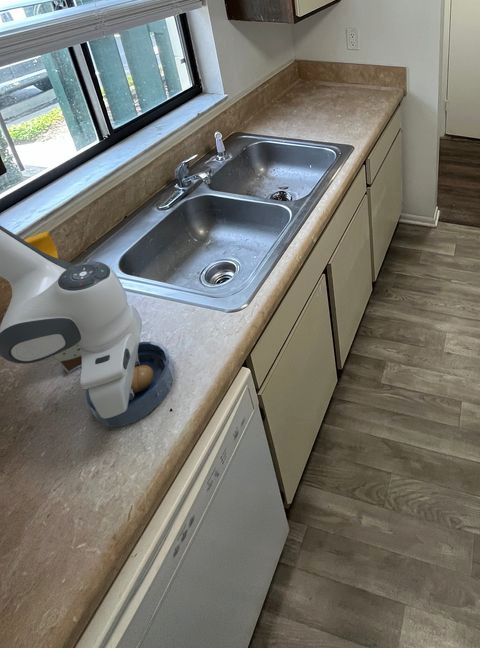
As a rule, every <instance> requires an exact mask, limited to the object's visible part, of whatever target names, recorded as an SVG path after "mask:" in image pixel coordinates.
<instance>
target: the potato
mask: <svg viewBox="0 0 480 648" xmlns="http://www.w3.org/2000/svg"><path fill="white" fill-rule="evenodd" d="M153 377H154V373H153V370H152V368H151V367H149V366H147V365H141V366H138V367H135V368H134V373H133V379H132V384H131V386H133V387H134V389H135V393H137V392H140V391H143V390H145V389H146V388H147V387H149V385H150V384H151V383H152V381H153Z"/></svg>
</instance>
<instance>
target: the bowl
mask: <svg viewBox="0 0 480 648" xmlns="http://www.w3.org/2000/svg"><path fill="white" fill-rule="evenodd" d="M138 360H139V362H140V365H139V366H141V365H147V366H149V367H151V368H152V370H153V373H154V377H153V381H152V383H151V384H150V385H149V387H147V388H146V389H145V390H143V391H140V392H137V393H135V394H134V398H133V399H131V400H129V401H128V407H127V410H126V411H125V412H123V413H121V414H119V415H116V416H113V417H110V418H102V417H101V416H100V415H99V413H98V412H97V410H96V408H95V407H94V405H93V403H92V401H91V399H90V396H89V388H86V392H85V396H86V397H85V398H86V403H87V405H88V407H89V408H90V411H91V412H92V414H93V416H94V418H95V419H96V420H97V421H98V422H99V424H101V425H103V426H107V427H110V428H111V427H123V426H126V425H130V424H132V423H135V422H137V421H139V420H140V419H141V418H143V417H145V416H147V415H149V414H150V413H151V412H152V411H153V410H154V409H155V408H156V407H157V406H159V405H160V404H161V403H162V401H164V398H165V397H166V396H167V394H168V393H169V392H170V390H171V387H172V385H173V382H174V379H175V378H174V376H175V368H174V364H173V362H172V360H171V357H170V355H169V352H168V349H167V348H166V347H165V346H164V345H162V344H161V343H159V342H155V341H139V346H138Z"/></svg>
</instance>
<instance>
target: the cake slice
mask: <svg viewBox="0 0 480 648" xmlns="http://www.w3.org/2000/svg"><path fill="white" fill-rule="evenodd" d="M81 348H82V347H81V345H80V343H77V344H76V345H74V346H72V347H70V348H69V349H66V350H64V351H62V352H60V353H58V354H56V355H53V356H52V357H54V359H55V360H56V361H57V362H58V363H59V365H60V366H61V367H62V368H63V370H64V371H65V372H66V373H67V374H70V373H71V372H73V371H74V370H76V369H78V368H81V364H82V358H81Z"/></svg>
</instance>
